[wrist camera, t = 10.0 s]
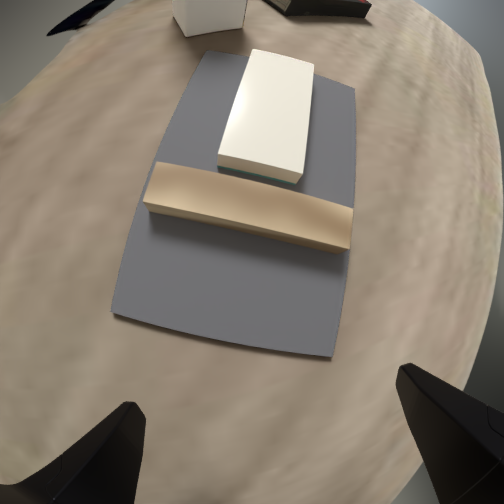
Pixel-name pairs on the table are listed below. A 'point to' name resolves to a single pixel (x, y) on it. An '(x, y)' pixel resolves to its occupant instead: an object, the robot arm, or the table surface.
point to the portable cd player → (322, 7)
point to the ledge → (249, 207)
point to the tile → (269, 119)
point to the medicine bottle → (208, 15)
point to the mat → (240, 243)
